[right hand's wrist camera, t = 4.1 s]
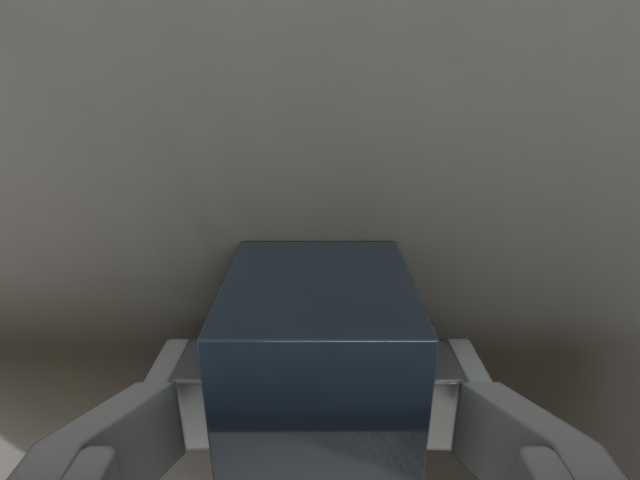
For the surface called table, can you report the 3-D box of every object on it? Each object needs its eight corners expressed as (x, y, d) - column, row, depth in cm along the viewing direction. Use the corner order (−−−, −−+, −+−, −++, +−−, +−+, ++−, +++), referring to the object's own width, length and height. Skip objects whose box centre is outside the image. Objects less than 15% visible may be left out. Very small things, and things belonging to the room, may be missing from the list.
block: (240, 240, 11) (195, 340, 7) (396, 240, 11) (440, 339, 7) (250, 392, 13) (219, 542, 9) (386, 392, 13) (417, 542, 9)
